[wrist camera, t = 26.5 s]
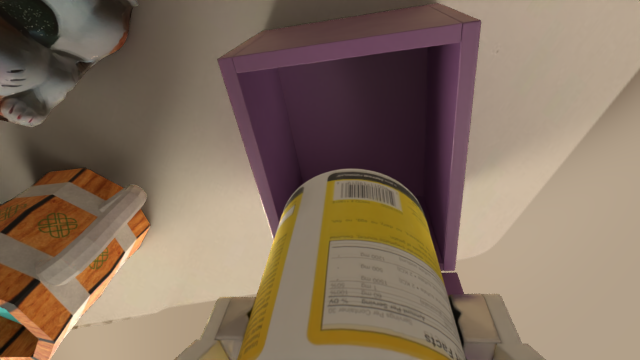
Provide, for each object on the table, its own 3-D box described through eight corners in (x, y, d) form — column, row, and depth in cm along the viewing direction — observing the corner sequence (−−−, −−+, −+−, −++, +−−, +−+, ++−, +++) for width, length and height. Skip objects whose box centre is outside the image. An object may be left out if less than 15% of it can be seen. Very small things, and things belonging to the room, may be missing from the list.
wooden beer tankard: (108, 263, 45) (11, 377, 32) (18, 195, 39) (-142, 300, 27) (207, 212, 37) (132, 333, 25) (114, 118, 32) (-43, 214, 19)
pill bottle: (299, 270, 17) (224, 654, 8) (268, 168, 14) (60, 634, 4) (424, 265, 16) (524, 711, 6) (425, 152, 13) (641, 747, 3)
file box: (261, 30, 26) (216, 59, 18) (438, 2, 24) (482, 19, 15) (301, 204, 35) (284, 275, 27) (431, 196, 33) (455, 271, 25)
